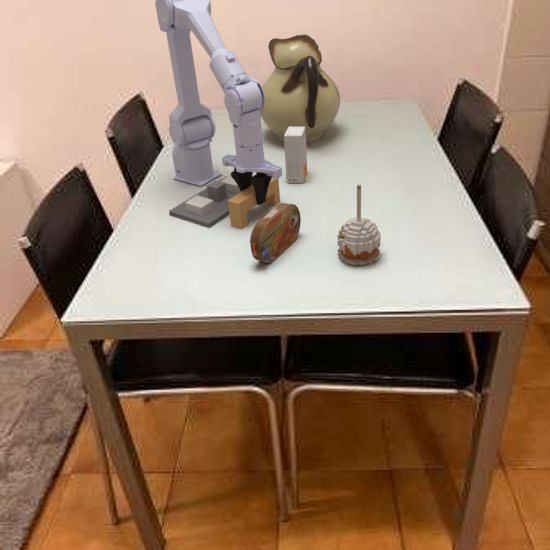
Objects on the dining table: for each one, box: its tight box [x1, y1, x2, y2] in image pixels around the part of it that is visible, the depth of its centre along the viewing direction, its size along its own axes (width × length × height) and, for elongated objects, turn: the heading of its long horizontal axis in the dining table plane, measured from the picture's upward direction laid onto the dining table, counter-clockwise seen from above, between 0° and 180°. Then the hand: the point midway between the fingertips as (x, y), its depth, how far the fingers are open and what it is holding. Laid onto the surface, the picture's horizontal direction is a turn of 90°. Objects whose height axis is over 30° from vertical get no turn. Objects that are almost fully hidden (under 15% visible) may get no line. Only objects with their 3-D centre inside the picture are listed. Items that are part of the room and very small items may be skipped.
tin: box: [249, 202, 302, 264], centre depth 116 cm, size 15×3×8 cm, turn 148°
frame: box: [228, 177, 281, 230], centre depth 130 cm, size 3×14×6 cm, turn 144°
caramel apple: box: [336, 184, 381, 266], centre depth 110 cm, size 8×8×15 cm
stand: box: [168, 174, 253, 228], centre depth 136 cm, size 12×20×4 cm, turn 144°
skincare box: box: [283, 127, 308, 184], centre depth 141 cm, size 6×4×12 cm
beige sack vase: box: [259, 34, 341, 144], centre depth 160 cm, size 22×24×25 cm
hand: (255, 201), depth 130 cm, fingers closed on frame, 3 cm apart
